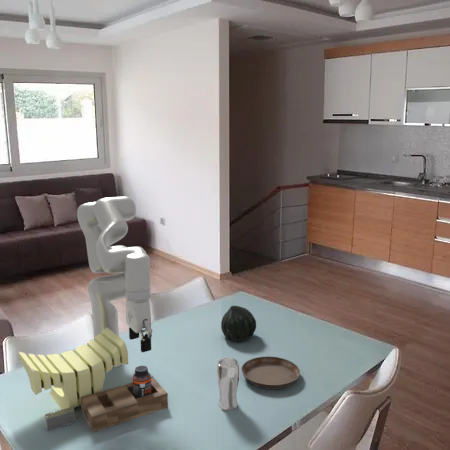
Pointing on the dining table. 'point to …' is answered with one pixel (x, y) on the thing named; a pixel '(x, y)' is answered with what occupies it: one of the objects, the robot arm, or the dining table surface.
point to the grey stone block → (60, 418)
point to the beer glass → (228, 383)
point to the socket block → (121, 405)
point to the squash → (238, 324)
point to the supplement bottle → (141, 382)
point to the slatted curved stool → (75, 369)
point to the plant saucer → (270, 372)
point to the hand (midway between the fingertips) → (140, 344)
